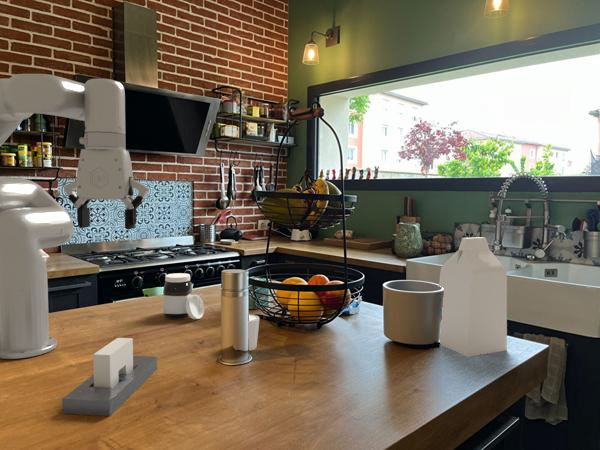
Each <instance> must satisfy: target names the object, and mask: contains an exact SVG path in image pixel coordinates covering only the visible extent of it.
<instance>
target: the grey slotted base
mask: <svg viewBox="0 0 600 450" xmlns="http://www.w3.org/2000/svg"><path fill="white" fill-rule="evenodd" d="M157 370H158V357H157V356H153V355H152V356H149V355H133V371H131V372H130V373H129V374H119V383H118V384H117V385H116V386H115V387H114V388H102V387H94V374H92V375H91V376H89V377H88V378H87V379H86V380H85V381H83V382H81V383H80V384H79V385H78V386H76V387H75V388H74V389H73V390H72V391H69V392H68V393H67V394H66V395H65V396H63V398H62V399H61V400H62V401H61V403H62V405H61V406H62V409H61V410H62V414H63V415H64V414H65V415H66V414H68V415H84V416H85V415H86V416H100V417H111V415H113V414H114V413H115V411H117V410H118V408H120V407H121V406H122V404H124V403H125V402H126V400H128V399H129V398H130V397H131V395H133V394H134V393H135V392H136V390H138V388H139V387H140V386H141V385H142V384H144V382H146V381H147V379H149V377H151V376H152V375H153V374H154V372H156V371H157Z"/></svg>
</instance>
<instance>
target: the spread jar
mask: <svg viewBox="0 0 600 450" xmlns="http://www.w3.org/2000/svg"><path fill="white" fill-rule="evenodd" d="M164 280H165V283H164V286H163V290H162V291H163V292H162V293H163V294H162V296H163V300H162V301H163V303H162V305H163V307H162V309H163V315H164V317H165V318H167V319H170V318H173V319H172V320H179V319H178V318H182V319H186V318H191V320H195V321H196V320H199V319H202V317H203V316H204V313H205V304H204V302H203V300H202V298H201V296H199V294H193V289H192V283H191V275H190V274H189V273H182V272H179V273H178V272H177V273H175V272H174V273H168V274H166V275H165V279H164ZM185 317H186V318H185Z"/></svg>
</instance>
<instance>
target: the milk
mask: <svg viewBox="0 0 600 450" xmlns="http://www.w3.org/2000/svg"><path fill="white" fill-rule="evenodd" d="M439 273H440V274H439V281H438V283H439V284H438V288H439V287H440V286H441V288H442V287H443V288H444V297H443V307H442V320H441V333H440V344H441V346H443V347H445V348H447V349H449V350H451V351H453V352H455V351H456V352H455V353H457V352H458V354H459V355H461V356H464V357H467V358H469V357H474V355H475V356H481V355H486V354H487V353H488V354H494V353H499V352H505V351H507V349H508V347H507V345H508V341H507V340H508V339H507V338H508V336H507V335H508V328H507V327H508V322H507V321H508V309H507V308H508V274H507V271H506V268H505V266H503V264H502V263H501V262H500V260H499V259H498V258H497V257H496V256H495V254H494V252H492V250H491V249H490V247H489V244H488V240H487V238H486V237H482V236H481V237H479V236H478V237H462V238H461V241H460V244H459V248H458V250H456V252H454V253H453V254H452V255H451V256H450V257H449V258H448V259H447V260H446V261H444V263H443V264H442V266H441V268H440V272H439ZM440 344H439V345H440ZM480 354H481V355H480Z"/></svg>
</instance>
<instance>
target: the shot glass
mask: <svg viewBox="0 0 600 450" xmlns="http://www.w3.org/2000/svg"><path fill="white" fill-rule="evenodd" d="M248 314H249V321H248V339H249V351H248V352H250V351H254V350H255V349H257V347H258V345H257V344H258V336H259V325H260V316H258V315H256V314H252V313H251V314H250V313H248Z"/></svg>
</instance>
